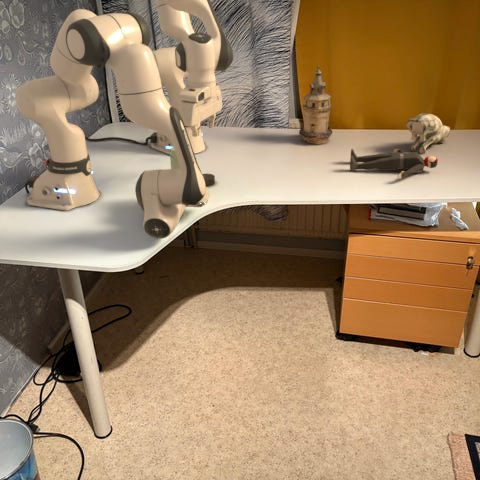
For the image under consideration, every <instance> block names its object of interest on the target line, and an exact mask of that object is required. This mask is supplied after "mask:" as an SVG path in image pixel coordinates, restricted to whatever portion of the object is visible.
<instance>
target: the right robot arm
mask: <svg viewBox="0 0 480 480" xmlns="http://www.w3.org/2000/svg"><path fill="white" fill-rule="evenodd" d="M155 6H156V13H157V17H158V23H159V28H160V30H161V32H162V33H163V34H164V35H165V36H166V37H169V38H170V39H173V40H174V41H175V42H176V44H177V45H176V46H170V47H162V48H159V49H155V50H152V53H153V55H154V58H155V61H156V64H157V67H158V71H159V75H160V79H161V84H162V87H164V89H165V90H166V93H167V96H168V103H169V104H170V105H171V106H172V107H174V108H176V109H177V110H178V111H179V113H180V115H181V117H182V120H183V122H184V125H185V128H186V130H187V133H188V136H189V139H190V142H191V145H192V148H193V152H194V155H196V154H199V153H201V152H204V151H205V149H206V145H205V142H204V139H203V138H204V137H203V135H204V133H203V132H202V127H201V126H202V122H203V121H205V120H206V119H208V121H207V122H206V127H207V128H208V129H212V128H214V126H215V119H216V116H217V113H219V112H220V111H222V109H223V96H222V91H221V89H220V85H219V83H217V78H216V74H215V72H225V71H226V70H227V69H229V67H230V66H231V65H232V63H233V61H234V52H233V51H234V50H233V47H232V44H231V43H230V41H229V40H228V38H227V36H226V35H225V32H224V30H223V28H222V25H221V22H220V21H219V18H218V16H217V15H218V14H216V11H215V8H214V6H213V4H212V2H211V0H155ZM190 15H192V16H194V17H196V18H198V19H199V20H201V22H202V23H203V26H204V28H205V32H206V33H205V32H195V30H194V28H193V25H192V21H191V18H190V17H191V16H190ZM184 78H187V81H186V82H187V83H186V84H185V82H184ZM111 140H117V141H125V142H130V143H134V144H137V145H141V146H147V145H148V144H149V140H150V148H152V149H154V150H157V151H159V152H161V153H164V154H167V155H169V156H170V155H171V151H170V150H171V148H172V147H173V144H172V142H171V140H170V139H169V138H168V137H167V136H165V135H164V134H162V133H160V132H158V131H154V132H152V134H151V135H150V136H148V137H146V138H145V142H144V143H143V142H139V141H137V140H134V139H131V138H124V137H117V136H116V137H115V136H110V137H108V136H107V137H100V138H89V137H87V136H85V141H88V142H100V141H101V142H103V141H111Z"/></svg>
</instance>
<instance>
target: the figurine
mask: <svg viewBox="0 0 480 480" xmlns="http://www.w3.org/2000/svg"><path fill="white" fill-rule="evenodd" d="M406 128H407V129H408V130H409V132H410V133H411V137H410V140H411V141H413V142H414V143H413V144H412V145H411V146H410V151H412V152H416V151H417V150H418V146H419V145H420V144H421V143H422V145H421V146H420V148H419V152H420V153H421V154H425V153H426V149H427V148H428V147H429V145H431V144H438V142H439V143H440V142H442V143H443V142H444V143H445V142H446V139H447V138H448V136H450V130H451V128H450V126H447V125H444V124H443V122H442V120H441V119H440V118H439V117H438V116H436V115H434V114H432V113H420V114H417V115H416V116H415V117H414V118H408V120H407V122H406Z"/></svg>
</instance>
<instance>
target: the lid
mask: <svg viewBox="0 0 480 480" xmlns="http://www.w3.org/2000/svg"><path fill="white" fill-rule="evenodd" d="M202 175H203V178H204V181H205V186H206V187H207V188H208V187H212V186H214V185H215V184H216V178H215V175H214V174H212V173H202Z"/></svg>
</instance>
